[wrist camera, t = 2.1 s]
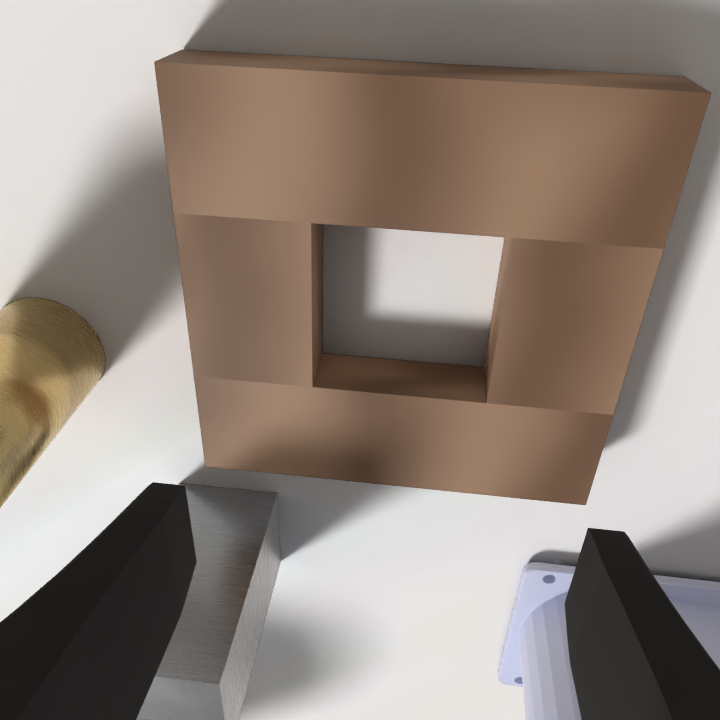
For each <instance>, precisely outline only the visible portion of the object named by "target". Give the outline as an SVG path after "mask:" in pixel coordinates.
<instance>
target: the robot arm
mask: <svg viewBox="0 0 720 720" xmlns="http://www.w3.org/2000/svg"><path fill="white" fill-rule="evenodd" d="M196 562H197V560H196V554H195V547H194V540H193V534H192V527H191V521H190V514H189V507H188V501H187V494H186V488H185V486H182V485H173V484H163V483H154V482H153V483H152V484H150V485H149V486H148V487H147V488H146V489H145V490H144V491H143V492H142V493H141V494H140V495H139V496H138V497H137V498H136V499H135V500H134V501H133V502H132V503H131V504H130V505H129V506H128V507H127V508H126V509H125V510H124V511H123V512H122V513H121V514H120V515H119V516H118V517H117V518H116V519H115V520H114V521H113V522H112V523H111V524H110V525H108V526H107V527H106V528H105V529H104V530H103V531H102V532H101V533H100V534H99V535H98V536H97V537H96V538H95V539H94V540H93V541H92V542H91V543H90V544H89V545H88V546H87V547H86V548H85V549H83V550H82V551H81V552H80V553H79V554H78V555H77V556H76V557H75V558H74V559H73V560H72V561H71V562H70V563H69V564H67V565H66V566H65V567H64V568H63V569H62V570H61V571H60V572H59V573H58V574H57V575H55V576H54V577H53V578H52V579H51V580H50V581H49V582H47V583H46V584H45V585H44V586H43V587H42V588H40V589H39V590H38V591H37V592H36V593H35V594H34V595H32V596H31V597H30V598H29V599H28V600H27V601H25V602H24V603H23V604H22V605H21V606H20V607H18V608H17V609H16V610H15V611H14V612H12V613H11V614H10V615H9V616H8V617H6V618H5V619H4V620H3V621H1V622H0V720H136V719H137V717H138V714H139V712H140V710H141V707H142V705H143V703H144V700H145V698H146V696H147V693H148V691H149V689H150V687H151V684H152V682H153V680H154V677H155V675H156V673H157V670H158V668H159V666H160V663H161V661H162V659H163V656H164V654H165V652H166V649H167V647H168V645H169V642H170V640H171V638H172V635H173V633H174V630H175V628H176V626H177V623H178V621H179V618H180V616H181V613H182V610H183V607H184V603H185V600H186V597H187V594H188V590H189V587H190V583H191V580H192V576H193V573H194V569H195V566H196ZM547 575H548V576H547ZM498 680H499V681H500V682H501V683H503V684H506V685H513V686H521V687H523V692H524V702H525V713H526V720H720V582H714V581H705V580H696V579H687V578H677V577H668V576H659V575H653V574H652V572H651V571H650V569H649V568H648V566H647V565H646V563H645V562H644V560H643V559H642V557H641V555H640V554H639V552H638V551H637V549H636V548H635V546H634V545H633V543H632V541H631V540H630V538H629V537H628V536H627V535H626V533H625V532H622V531H612V530H603V529H593V528H588V530H587V533H586V537H585V540H584V543H583V546H582V549H581V552H580V556H579V559H578V562H577V565H576V566H567V565H558V564H549V563H540V562H532V563H529V564H527V565H526V566H525V567H524V568H523V571H522V575H521V579H520V583H519V587H518V591H517V595H516V599H515V603H514V607H513V611H512V615H511V619H510V623H509V627H508V631H507V635H506V639H505V643H504V647H503V651H502V655H501V659H500V663H499V667H498Z"/></svg>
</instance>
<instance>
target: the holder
mask: <svg viewBox="0 0 720 720" xmlns="http://www.w3.org/2000/svg"><path fill="white" fill-rule="evenodd" d="M154 64H155V72H156V80H157V88H158V96H159V104H160V112H161V120H162V128H163V135H164V143H165V151H166V159H167V167H168V175H169V183H170V191H171V199H172V207H173V215H174V222H175V230H176V238H177V246H178V254H179V262H180V270H181V278H182V286H183V294H184V302H185V310H186V317H187V325H188V333H189V341H190V349H191V357H192V365H193V373H194V381H195V389H196V397H197V405H198V412H199V420H200V428H201V436H202V444H203V452H204V460H205V466H207V467H217V468H227V469H237V470H247V471H256V472H266V473H276V474H286V475H296V476H305V477H315V478H325V479H335V480H344V481H354V482H364V483H374V484H384V485H393V486H403V487H413V488H423V489H433V490H442V491H452V492H462V493H472V494H481V495H491V496H501V497H511V498H521V499H530V500H540V501H550V502H560V503H570V504H579V505H586V503H587V499H588V496H589V493H590V490H591V486H592V483H593V480H594V476H595V473H596V470H597V467H598V463H599V460H600V457H601V453H602V450H603V447H604V444H605V440H606V437H607V434H608V430H609V427H610V424H611V421H612V417H613V414H614V411H615V407H616V404H617V401H618V398H619V394H620V391H621V388H622V384H623V381H624V378H625V375H626V371H627V368H628V365H629V361H630V358H631V355H632V352H633V348H634V345H635V342H636V338H637V335H638V332H639V329H640V325H641V322H642V319H643V315H644V312H645V309H646V306H647V302H648V299H649V296H650V292H651V289H652V286H653V283H654V279H655V276H656V273H657V269H658V266H659V263H660V260H661V256H662V253H663V250H664V246H665V243H666V240H667V237H668V233H669V230H670V227H671V223H672V220H673V217H674V214H675V210H676V207H677V204H678V200H679V197H680V194H681V191H682V187H683V184H684V181H685V177H686V174H687V171H688V168H689V164H690V161H691V158H692V154H693V151H694V148H695V145H696V141H697V138H698V135H699V131H700V128H701V125H702V121H703V118H704V115H705V112H706V108H707V105H708V102H709V98H710V95H711V93H710V92H709V91H707V90H706V89H704V88H702V87H701V86H699V85H697V84H696V83H694V82H692V81H691V80H689V79H688V78H686V77H679V76H661V75H642V74H624V73H605V72H586V71H568V70H549V69H531V68H512V67H494V66H475V65H457V64H438V63H420V62H401V61H382V60H364V59H345V58H327V57H308V56H290V55H271V54H253V53H234V52H216V51H197V50H180V51H178V52H176V53H173V54H171V55H169V56H167V57H164V58H162V59H160V60H158V61H155V62H154ZM323 224H330V225H344V226H357V227H371V228H385V229H399V230H412V231H426V232H440V233H453V234H467V235H481V236H494V237H505V238H504V244H503V250H502V256H501V263H500V269H499V275H498V281H497V287H496V294H495V300H494V306H493V312H492V318H491V325H490V331H489V337H488V343H487V349H486V355H485V362H484V367H473V366H462V365H450V364H439V363H428V362H416V361H405V360H394V359H382V358H371V357H359V356H348V355H337V354H325V353H323Z"/></svg>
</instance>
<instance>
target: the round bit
mask: <svg viewBox="0 0 720 720" xmlns="http://www.w3.org/2000/svg"><path fill="white" fill-rule="evenodd" d="M104 368H105V353H104V349H103V346H102V344H101V341H100V339H99V338H98V336H97V334H96V333H95V331H94V330H93V329H92V327H91V326H90V325H89V324H88V323H87V322H86V321H85V320H84V319H83V318H82V317H81V316H79V315H78V314H77V313H75V312H74V311H72V310H71V309H69V308H68V307H66V306H64V305H61V304H59V303H57V302H54V301H51V300H47V299H42V298H23V299H19V300H16V301H13V302H11V303H9V304H8V305H6V306H5V307H4V308H3V309H2V310H0V507H1V506H2V505H3V503H4V502H5V501H6V500H7V498H8V497H9V496H10V494H11V493H12V492H13V491H14V489H15V488H16V487H17V485H18V484H19V483H20V482H21V480H22V479H23V478H24V476H25V475H26V474H27V473H28V471H29V470H30V469H31V467H32V466H33V465H34V464H35V462H36V461H37V460H38V458H39V457H40V456H41V455H42V453H43V452H44V451H45V449H46V448H47V447H48V445H49V444H50V443H51V442H52V440H53V439H54V438H55V436H56V435H57V434H58V433H59V431H60V430H61V429H62V427H63V426H64V425H65V424H66V422H67V421H68V420H69V418H70V417H71V416H72V415H73V413H74V412H75V411H76V409H77V408H78V407H79V406H80V404H81V403H82V402H83V400H84V399H85V398H86V397H87V395H88V394H89V393H90V391H91V390H92V389H93V388H94V386H95V385H96V384H97V382H98V381H99V380H100V378H101V377H102V375H103V372H104Z"/></svg>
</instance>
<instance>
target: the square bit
mask: <svg viewBox="0 0 720 720" xmlns="http://www.w3.org/2000/svg"><path fill="white" fill-rule="evenodd" d="M179 485H182V486H185V488H186V494H187V501H188V507H189V514H190V521H191V527H192V534H193V540H194V547H195V554H196V560H197V562H196V566H195V569H194V573H193V576H192V580H191V583H190V587H189V590H188V594H187V597H186V600H185V603H184V607H183V610H182V613H181V616H180V618H179V621H178V623H177V626H176V628H175V630H174V633H173V635H172V638H171V640H170V642H169V645H168V647H167V649H166V652H165V654H164V656H163V659H162V661H161V663H160V666H159V668H158V670H157V673H156V675H155V677H154V680H153V682H152V684H151V687H150V689H149V691H148V693H147V696H146V698H145V700H144V703H143V705H142V707H141V710H140V712H139V714H138V717H137V719H136V720H239V717H240V713H241V709H242V705H243V702H244V698H245V694H246V690H247V687H248V683H249V679H250V675H251V672H252V668H253V664H254V660H255V656H256V653H257V649H258V645H259V641H260V638H261V634H262V630H263V626H264V623H265V619H266V615H267V611H268V607H269V604H270V600H271V596H272V592H273V589H274V585H275V581H276V577H277V573H278V570H279V566H280V562H281V556H280V535H279V514H278V494H277V493H270V492H260V491H251V490H241V489H231V488H222V487H212V486H202V485H193V484H183V483H179Z"/></svg>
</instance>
